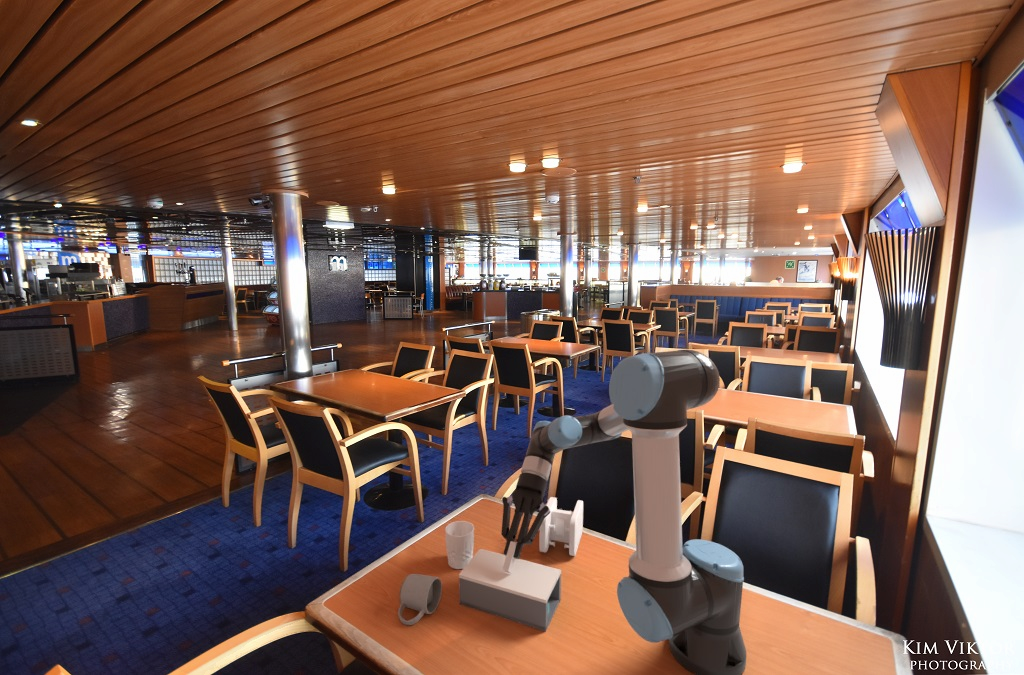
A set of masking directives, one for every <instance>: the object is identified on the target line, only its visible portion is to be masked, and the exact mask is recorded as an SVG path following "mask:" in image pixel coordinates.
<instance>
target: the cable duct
mask: <svg viewBox="0 0 1024 675" xmlns="http://www.w3.org/2000/svg"><path fill="white" fill-rule="evenodd" d="M458 581H459V582H458V589H459V590H458V591H459V592H458V594H459V596H458V598H459V600H458V601H459V602H458V603H459V605H461V606H464V607H468V608H470V609H474V610H476V611H480V612H483V613H486V614H489V615H492V616H494V617H499V618H501V619H505V620H508V621H511V622H514V623H517V624H520V625H523V626H527V627H530V628H533V629H536V630H539V631H542V632H547V630H548V628H549V626H550V623H551V621H552V619H553V617H554V615H555V613H556V611H557V609H558V607H559V604H560V603H561V600H562V573H561V574H560V576H559V578H558V580H557V582H556V584H555V586H554V588H553V590H552V592H551V595H550V597H549V599H548V601H547V603H543V602H540V601H536V600H533V599H529V598H526V597H523V596H519V595H516V594H513V593H509V592H506V591H502V590H499V589H496V588H492V587H489V586H486V585H482V584H479V583H475V582H472V581H469V580H465V579H462V578H459V577H458Z"/></svg>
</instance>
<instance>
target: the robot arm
mask: <svg viewBox="0 0 1024 675" xmlns="http://www.w3.org/2000/svg"><path fill="white" fill-rule="evenodd" d="M720 380H721V379H720V372H719V370H718V368H717V366H716V365H715V363H714V362H713V361H712V358H710V357H709V356H707V355H705V354H704V353H702V352H700V351H696V350H694V349H678V350H670V351H669V350H668V351H657V352H645V353H643V352H642V353H639V354H637V355H636V354H634V355H631V356H628V357H625V358H624V359H622V360H621V361H619V362H618V364H617V365H616V366H615V367H614V368H613V371H612V372H611V375H610V379H609V384H608V385H609V388H608V394H609V400H610V405H608V406H606V407H604V408H603V409H601V410H599V411H597V412H595V413H592V414H587V415H580V416H572V415H567V414H566V415H562V416H560V417H557V418H555V419H554V420H552V421H550V420H549V421H548V420H540V421H538V422H536V423H535V425H534V428H533V430H532V432H531V434H530V440H529V443H528V447H527V450H526V452H525V457H524V460H523V464H522V466H521V468H520V474H519V476H518V479H517V483H516V485H515V489H514V491H513V492H512V494H511V495H510V496H508V497H506V496H503V497H502V498H501V501H502V504H503V509H502V510H503V511H502V521H501V522H502V523H501V534H500V535H501V536H502V537H503V538H504V539H505V540H506V543H505V547H504V550H503V555H505V556H506V559H505V562H504V566H503V570H504V571H505V572H507V573H510V574H512V570H513V567H514V563H515V559H521V558H520V557H521V554H522V551H523V547H525V546H527V545H528V546H531V545H532V544H533V541H534V540H535V538H536V535H537V534H538V532H539V531H540V526H541V524H542V522H543V520H544V518H545V517H546V516H547V515H548V514H549V513H550V510H549V508H548V506H546V503H545V500H544V496H545V494H546V489H547V484H548V480H549V477H550V473H551V470H552V467H553V464H554V463H553V462H554V459H555V456H556V454H558V453H559V452H562V451H564V450H566V449H572V448H575V447H581V446H585V445H589V444H594V443H600V442H605V441H606V442H607V441H612V440H615V439H617V438H620V437H621V436H622V434H623V433H624V432H627V431H630V433H631V444H632V446H631V448H632V470H633V471H632V472H633V474H632V475H633V498H634V523H635V527H634V528H635V551H634V552H633V553H632V554H631V555H629V558H628V576H624V577H622V579H621V580H620V581H619V582H618V583H617V587H616V594H617V600H618V603H619V607H620V610H621V612H622V614H623V616H624V617H625V620H626V621H627V622H628V624H629V626H630V627H631V628H632V630H633V631H634V633H636V634H637V635H638V636H639V637H640V638H642V639H643V640H644V641H646V642H649V643H653V644H655V643H656V644H657V643H660V642H663V641H666V640H668V646H669V649H670V652H671V653H672V655H673V657H674V659H676V661H677V662H678V663H679V664H680V665H682V667H684V669H686V670H688V671H689V672H690V673H692V674H694V675H742V674H743V673H744V672H745V670H746V667H747V666H746V665H747V650H746V645H745V642H744V638H743V634H742V632H741V627H740V622H741V621H740V619H741V609H742V598H743V596H742V595H743V584H744V581H745V577H744V565H743V562H742V560H741V558H740V557H739V555H737V554H736V553H735V552H734V551H733V550H731V549H729V547H726V546H724V545H722V544H721V543H716V542H714V541H710V540H706V539H699V538H697V539H696V538H695V539H690V540H687V541H686V542H684V544H683V525H682V524H683V522H682V494H681V492H682V490H681V466H680V465H681V464H680V463H681V461H680V433H681V432H682V431H683V430H684V429H685V428H686V427H687V426H688V412H687V411H688V410H690V409H691V410H693V409H695V408H699V407H702V406H705V405H707V403H709V402H711V401H712V399H714V397H715V396H716V394H718V391H719V388H720V382H721V381H720ZM513 504H514V513H513V517H512V519H511V512H512V511H511V508H512V507H511V506H512V505H513ZM538 510H539V511H538ZM536 511H538V513H537V515H536V516H535V518H534V520H533V522H532V524H531V521H532V519H533V516H534V513H535V512H536ZM522 517H523V518H522ZM511 520H512V521H511ZM520 524H521V525H520ZM530 525H531V526H530ZM519 527H520V529H519ZM518 530H519V532H518ZM517 533H518V536H517ZM516 537H517V538H516Z"/></svg>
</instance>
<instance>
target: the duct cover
mask: <svg viewBox="0 0 1024 675" xmlns="http://www.w3.org/2000/svg"><path fill="white" fill-rule="evenodd" d="M505 559H506V556H505V555H504V553H503V554H502V553H498V552H495V551H491V550H487V549H482V548H479V549H478V550H477V552H476V553H475V554H473V558H472V559H471V560H470V562H469V563H468V564H467V565H466V567H465V568H464V569H461V571H460V573H459V574H458V579H459V578H462V579H465V580H469V581H472V582H475V583H479V584H482V585H486V586H489V587H492V588H496V589H499V590H502V591H506V592H509V593H513V594H516V595H519V596H523V597H526V598H529V599H533V600H536V601H540V602H543V603H547V601H548V599H549V597H550V595H551V592H552V590H553V588H554V586H555V584H556V582H557V580H558V578H559V576H560V574H561V575H562V569H559V568H555V567H552V566H547V565H544V564H540V563H537V562H532V561H529V560H525V559H522V558H519V559H515V563H514V567H513V570H512V574H510V573H507V572H505V571H504V570H503V566H504V562H505Z"/></svg>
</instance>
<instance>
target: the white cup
mask: <svg viewBox="0 0 1024 675" xmlns="http://www.w3.org/2000/svg"><path fill="white" fill-rule="evenodd" d="M444 532H445V545H446V547H445V549H446V555H447V563H448V566H449V567H451V568H452V569H455V570H463V569H464V568H465V567H466V565H467V564H468V563H469V562H470V560H471V559H472V558H473V557H474V546H475V544H474V542H475V526H474V524H473V523H472V522H470V521H466V520H456V521H453V522H450V523H449V524H447V525H446V526H445V528H444Z"/></svg>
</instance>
